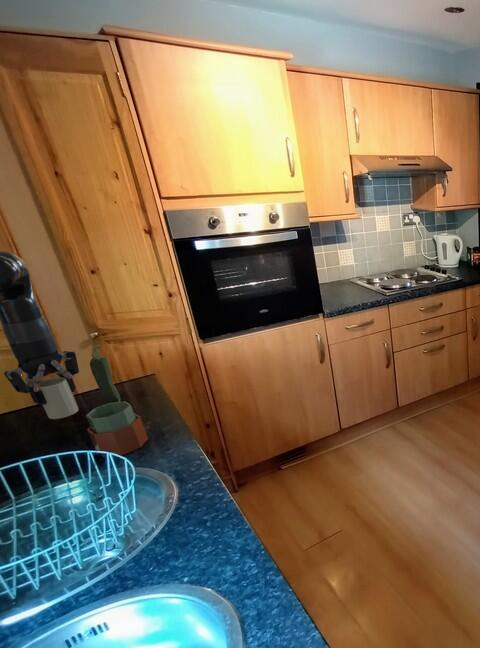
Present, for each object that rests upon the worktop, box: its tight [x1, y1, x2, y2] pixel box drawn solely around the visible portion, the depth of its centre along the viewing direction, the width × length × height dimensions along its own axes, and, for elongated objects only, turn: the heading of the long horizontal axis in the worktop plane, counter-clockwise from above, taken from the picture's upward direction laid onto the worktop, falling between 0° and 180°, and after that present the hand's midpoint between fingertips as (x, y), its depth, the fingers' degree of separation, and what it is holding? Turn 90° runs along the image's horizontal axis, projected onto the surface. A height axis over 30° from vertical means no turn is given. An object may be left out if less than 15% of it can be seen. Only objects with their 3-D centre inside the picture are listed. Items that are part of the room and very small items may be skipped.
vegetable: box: [89, 343, 121, 403], centre depth 136 cm, size 4×4×20 cm
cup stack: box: [85, 401, 149, 458], centre depth 118 cm, size 10×10×11 cm
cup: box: [40, 376, 79, 420], centre depth 115 cm, size 6×6×9 cm
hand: (56, 397), depth 115 cm, fingers closed on cup, 6 cm apart
